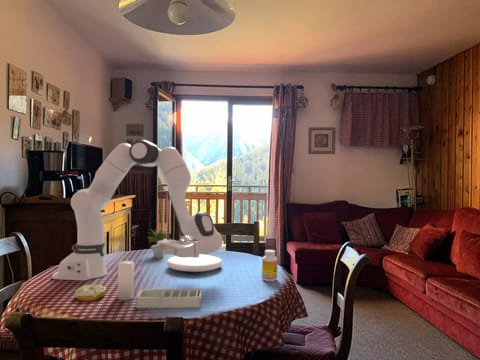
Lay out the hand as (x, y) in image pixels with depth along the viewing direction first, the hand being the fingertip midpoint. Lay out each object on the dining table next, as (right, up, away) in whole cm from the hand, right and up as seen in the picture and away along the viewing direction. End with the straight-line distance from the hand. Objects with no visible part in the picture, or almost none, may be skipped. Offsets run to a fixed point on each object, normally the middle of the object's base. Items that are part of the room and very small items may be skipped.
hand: (157, 250), depth 144 cm
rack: (+7, -16, -12) cm, 22 cm away
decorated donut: (-23, -16, -7) cm, 29 cm away
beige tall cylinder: (-10, -16, -7) cm, 20 cm away
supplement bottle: (+45, -17, +19) cm, 52 cm away
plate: (+10, -16, +37) cm, 42 cm away
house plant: (-13, -15, +61) cm, 65 cm away
